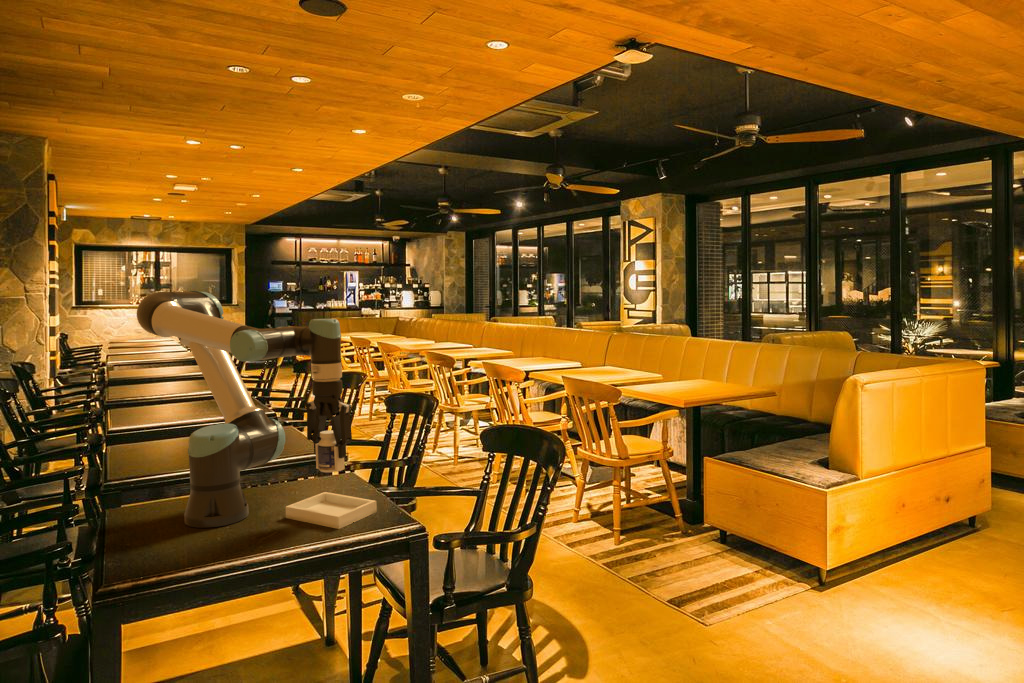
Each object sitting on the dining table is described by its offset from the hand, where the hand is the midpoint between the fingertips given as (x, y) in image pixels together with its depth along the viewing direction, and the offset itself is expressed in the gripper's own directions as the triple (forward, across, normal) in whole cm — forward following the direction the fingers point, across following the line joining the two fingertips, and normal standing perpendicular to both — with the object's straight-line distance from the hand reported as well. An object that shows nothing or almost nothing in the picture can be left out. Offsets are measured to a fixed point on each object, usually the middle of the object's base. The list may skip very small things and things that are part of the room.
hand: (330, 468), depth 175 cm
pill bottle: (+1, 0, 0) cm, 1 cm away
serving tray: (+12, 0, 0) cm, 12 cm away
